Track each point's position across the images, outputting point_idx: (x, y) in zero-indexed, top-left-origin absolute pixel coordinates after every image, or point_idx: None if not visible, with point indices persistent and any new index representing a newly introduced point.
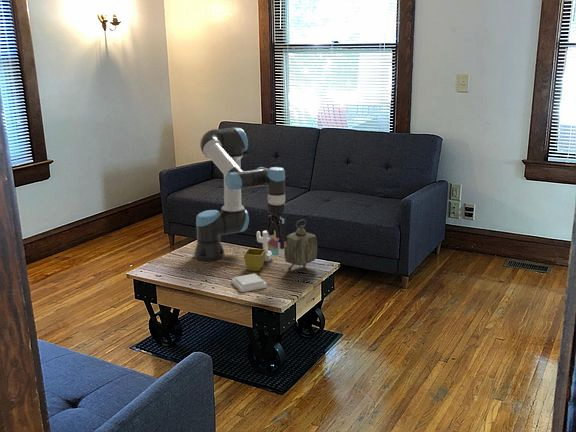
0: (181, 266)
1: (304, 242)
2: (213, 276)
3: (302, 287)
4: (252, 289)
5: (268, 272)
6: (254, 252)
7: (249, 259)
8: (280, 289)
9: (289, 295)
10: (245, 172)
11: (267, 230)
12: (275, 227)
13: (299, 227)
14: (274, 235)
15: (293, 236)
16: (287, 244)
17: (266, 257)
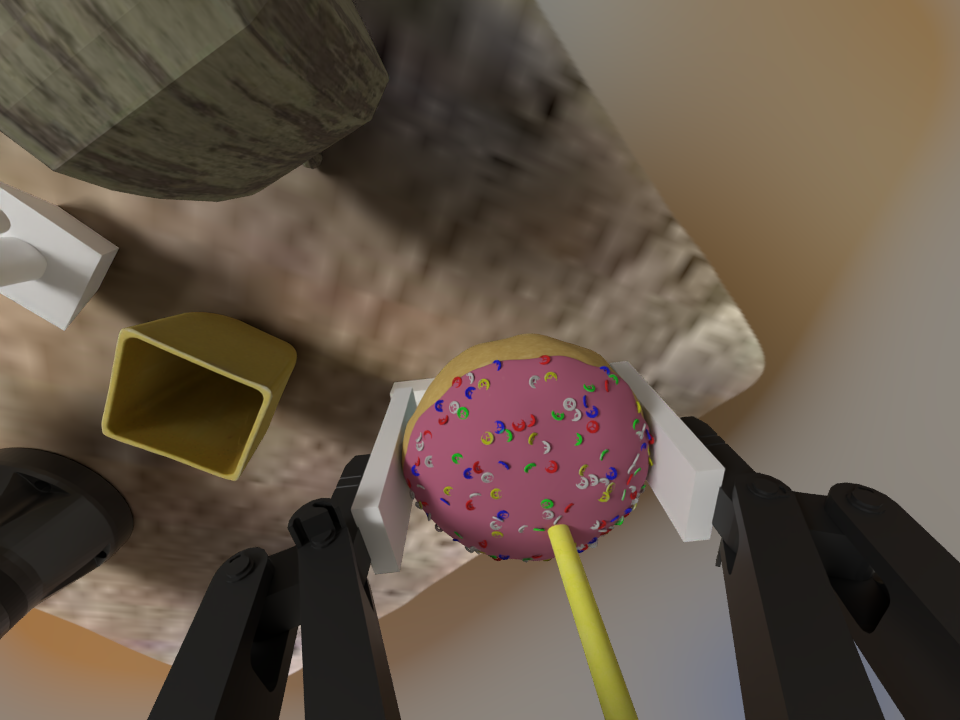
0: (196, 597)
1: None
2: None
3: (613, 178)
4: None
5: (319, 300)
6: (138, 387)
7: (262, 433)
8: (580, 312)
9: (674, 293)
10: None
11: (273, 641)
12: (380, 690)
13: None
14: (590, 621)
15: (52, 21)
16: (199, 171)
17: (101, 265)
